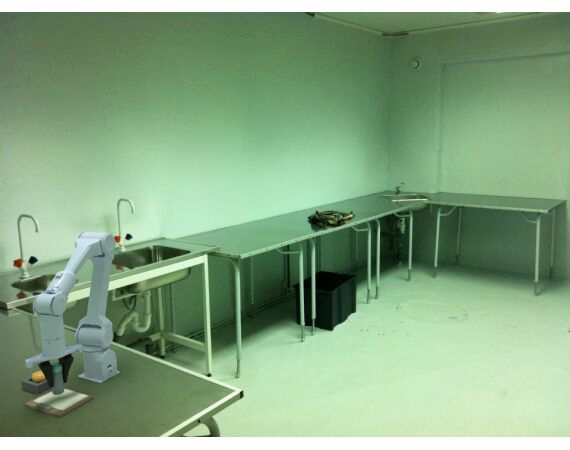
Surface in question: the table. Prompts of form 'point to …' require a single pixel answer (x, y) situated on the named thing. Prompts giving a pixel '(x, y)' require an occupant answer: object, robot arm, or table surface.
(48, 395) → the clipboard
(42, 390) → the button base
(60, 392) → the marker
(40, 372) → the button
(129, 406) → the table surface
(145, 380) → the table surface
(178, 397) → the table surface
